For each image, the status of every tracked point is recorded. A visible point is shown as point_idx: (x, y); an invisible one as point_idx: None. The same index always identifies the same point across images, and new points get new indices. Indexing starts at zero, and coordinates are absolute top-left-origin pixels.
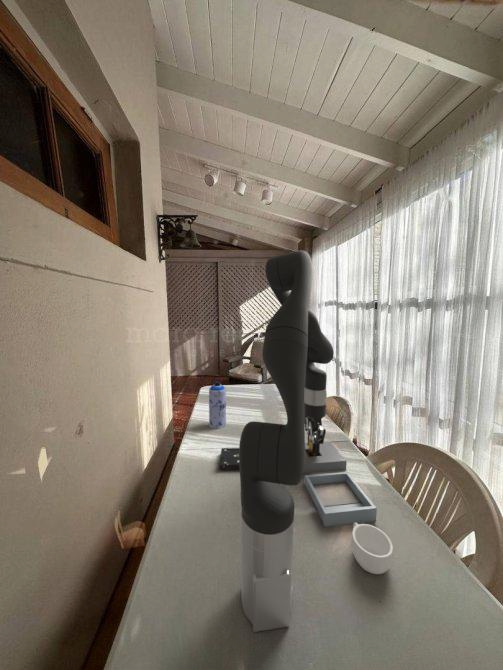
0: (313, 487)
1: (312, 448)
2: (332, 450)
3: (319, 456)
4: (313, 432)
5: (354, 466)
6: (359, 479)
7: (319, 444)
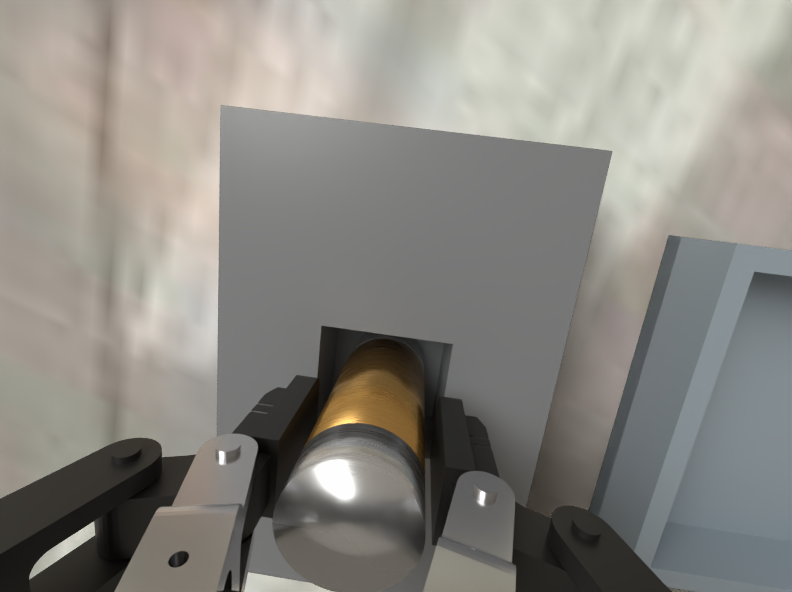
0: (767, 589)
1: (431, 481)
2: (392, 187)
3: (454, 373)
4: (248, 492)
5: (520, 32)
6: (680, 109)
7: (472, 457)
